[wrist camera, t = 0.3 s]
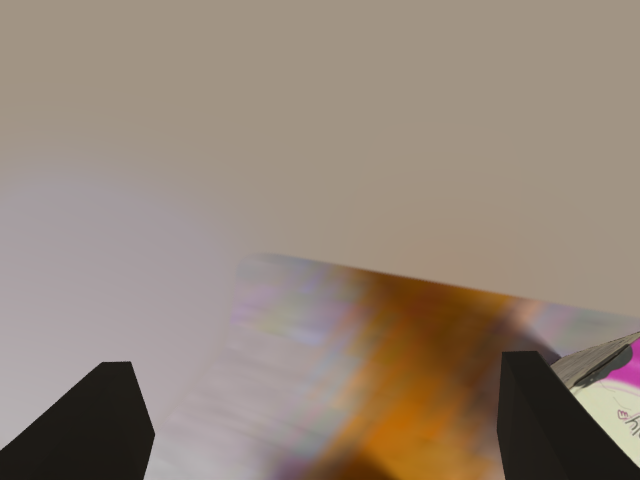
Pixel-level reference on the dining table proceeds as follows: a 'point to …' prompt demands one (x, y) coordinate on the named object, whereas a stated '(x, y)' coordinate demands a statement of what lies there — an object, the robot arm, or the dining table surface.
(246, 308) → the dining table surface
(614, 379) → the candy bar box
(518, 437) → the robot arm
